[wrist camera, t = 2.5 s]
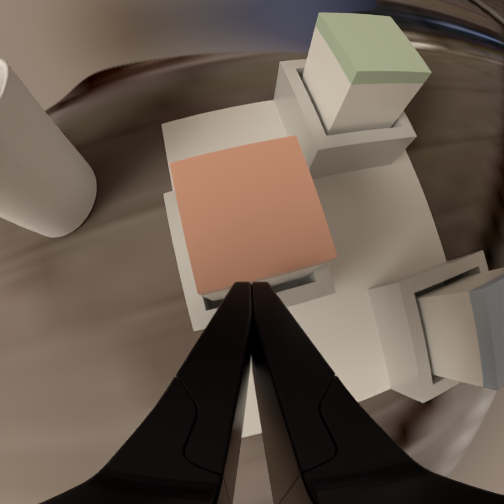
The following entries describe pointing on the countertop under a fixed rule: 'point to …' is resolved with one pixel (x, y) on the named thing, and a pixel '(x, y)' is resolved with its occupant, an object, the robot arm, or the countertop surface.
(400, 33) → the key sage
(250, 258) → the key terracotta
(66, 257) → the countertop surface
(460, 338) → the key slate
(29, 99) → the mug
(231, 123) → the keypad
